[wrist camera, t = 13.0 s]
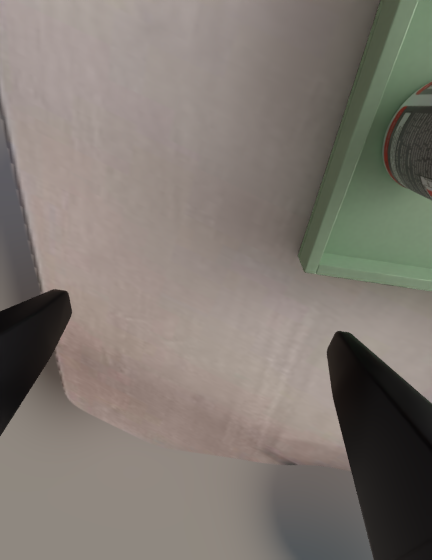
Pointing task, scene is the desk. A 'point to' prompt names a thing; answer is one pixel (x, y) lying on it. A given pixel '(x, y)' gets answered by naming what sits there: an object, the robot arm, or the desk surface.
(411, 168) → the pill bottle
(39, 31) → the desk surface
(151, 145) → the desk surface
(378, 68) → the tray
